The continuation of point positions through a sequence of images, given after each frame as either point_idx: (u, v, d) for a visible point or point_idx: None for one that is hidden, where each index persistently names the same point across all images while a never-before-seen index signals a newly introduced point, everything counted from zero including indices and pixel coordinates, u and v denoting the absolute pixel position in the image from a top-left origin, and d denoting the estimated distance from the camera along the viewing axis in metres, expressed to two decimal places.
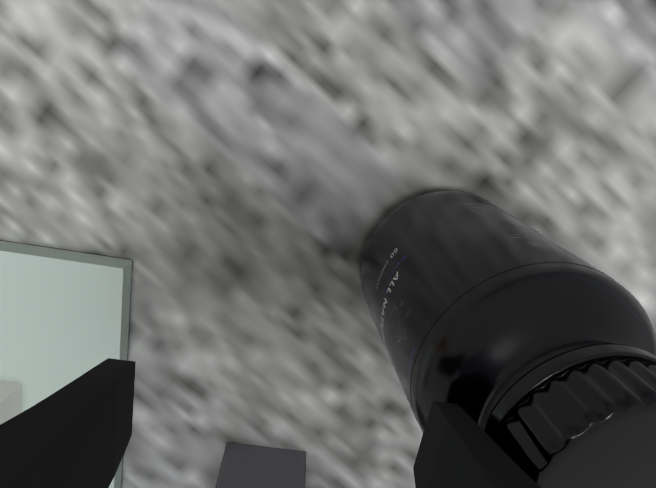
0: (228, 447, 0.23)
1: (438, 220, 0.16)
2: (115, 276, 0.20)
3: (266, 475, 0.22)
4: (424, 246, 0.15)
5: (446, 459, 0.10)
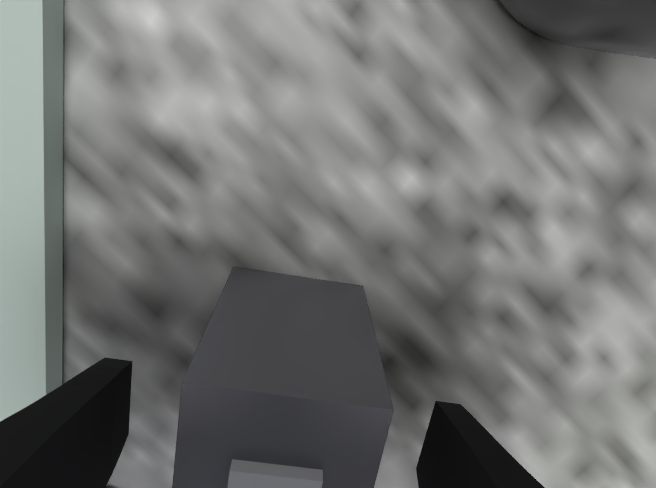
0: (237, 271, 0.14)
1: None
2: None
3: (302, 302, 0.13)
4: None
5: (449, 459, 0.10)
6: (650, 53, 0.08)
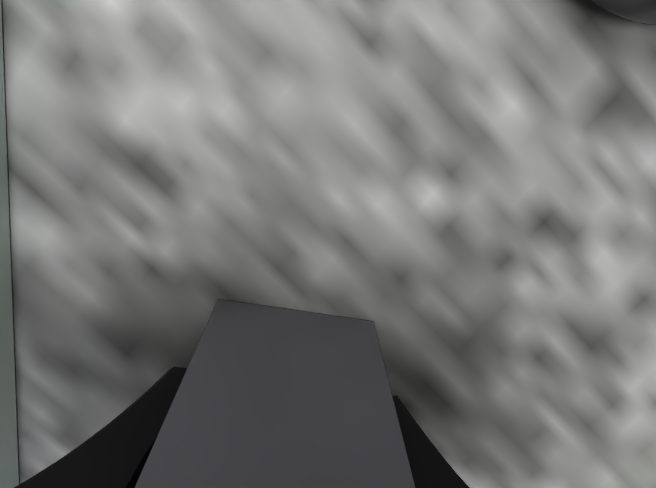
0: (221, 306, 0.12)
1: None
2: None
3: (301, 348, 0.10)
4: None
5: None
6: None
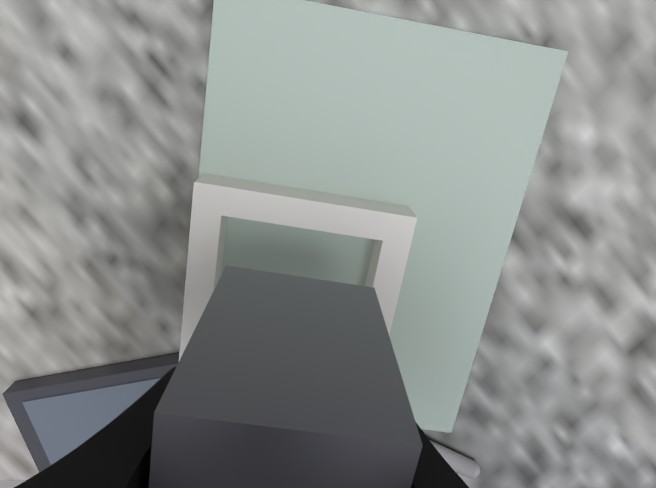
0: (229, 271, 0.12)
1: None
2: (556, 62, 0.16)
3: (305, 307, 0.11)
4: None
5: None
6: None
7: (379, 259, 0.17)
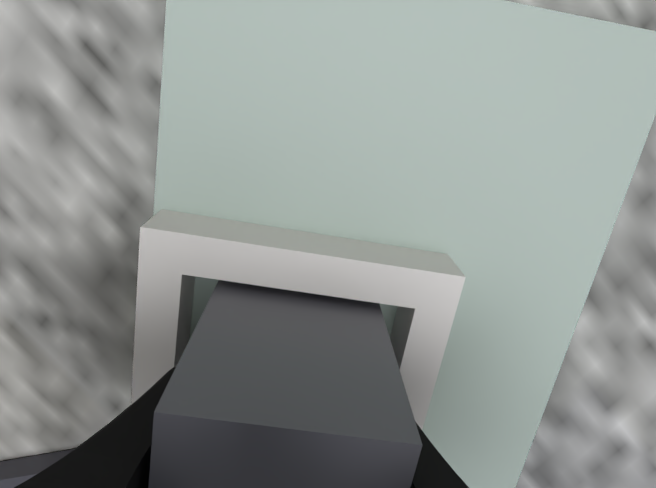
0: None
1: None
2: None
3: (305, 306, 0.11)
4: None
5: None
6: None
7: (409, 333, 0.12)
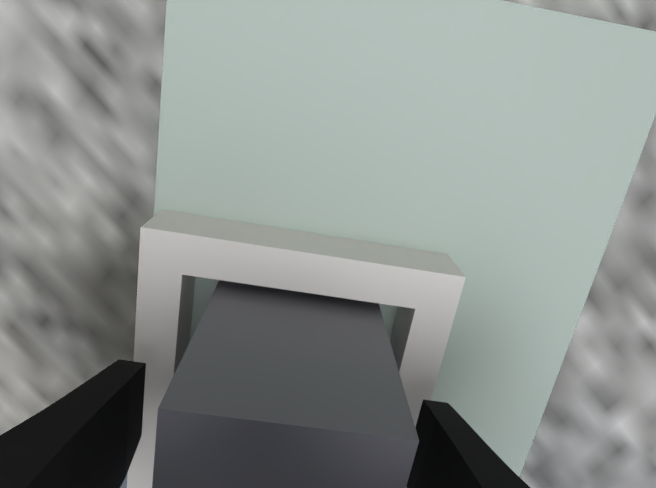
0: None
1: None
2: None
3: (305, 305, 0.11)
4: None
5: (435, 458, 0.10)
6: None
7: (410, 333, 0.12)
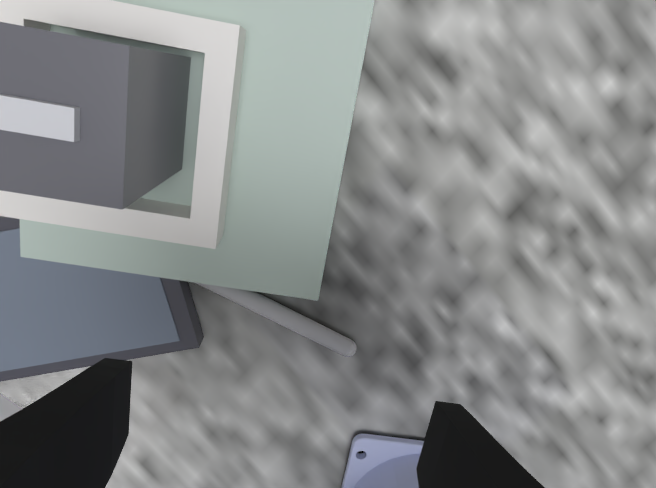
0: None
1: None
2: None
3: None
4: None
5: (449, 459, 0.10)
6: None
7: (203, 75, 0.16)
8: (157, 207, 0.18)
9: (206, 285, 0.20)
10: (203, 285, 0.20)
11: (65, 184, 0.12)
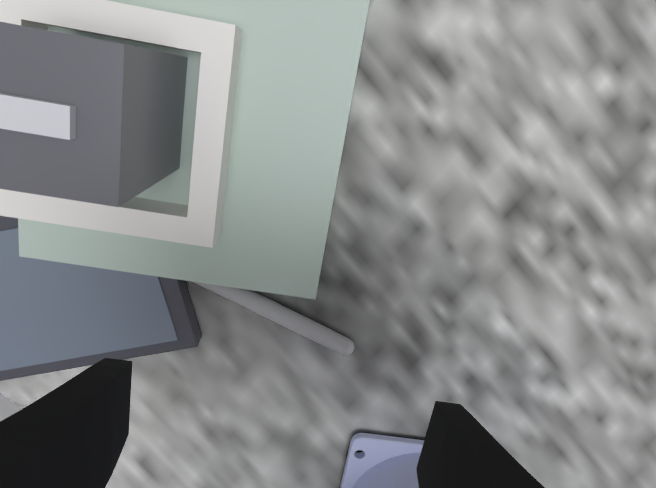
0: None
1: None
2: None
3: None
4: None
5: (449, 459, 0.10)
6: None
7: (199, 74, 0.16)
8: (154, 206, 0.18)
9: (204, 284, 0.20)
10: (201, 284, 0.20)
11: (61, 182, 0.12)
